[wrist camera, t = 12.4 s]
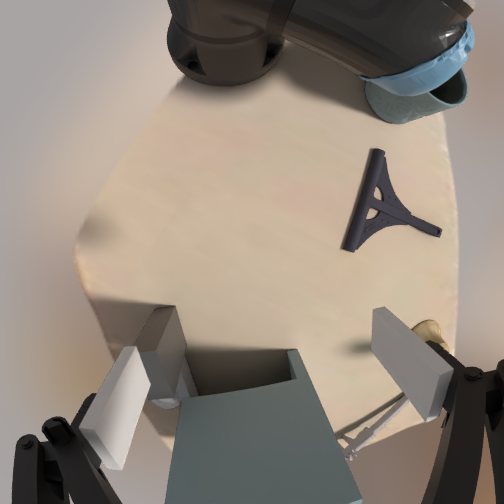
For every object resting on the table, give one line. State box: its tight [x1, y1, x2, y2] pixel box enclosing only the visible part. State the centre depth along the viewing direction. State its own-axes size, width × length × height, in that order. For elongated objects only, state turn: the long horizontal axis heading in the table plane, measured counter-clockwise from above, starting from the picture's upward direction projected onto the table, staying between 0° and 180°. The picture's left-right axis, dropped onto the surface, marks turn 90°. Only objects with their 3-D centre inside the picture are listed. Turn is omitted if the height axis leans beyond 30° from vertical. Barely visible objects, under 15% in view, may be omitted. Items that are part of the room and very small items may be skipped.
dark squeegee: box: [343, 148, 442, 253], centre depth 37 cm, size 14×15×3 cm
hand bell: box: [412, 320, 449, 352], centre depth 35 cm, size 8×8×16 cm
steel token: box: [151, 390, 181, 409], centre depth 40 cm, size 5×5×1 cm
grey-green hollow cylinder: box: [365, 67, 468, 124], centre depth 29 cm, size 10×10×12 cm
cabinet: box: [165, 349, 363, 504], centre depth 29 cm, size 16×17×26 cm
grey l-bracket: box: [133, 306, 199, 402], centre depth 34 cm, size 20×3×12 cm, turn 10°
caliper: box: [339, 395, 410, 461], centre depth 42 cm, size 20×1×6 cm, turn 126°
